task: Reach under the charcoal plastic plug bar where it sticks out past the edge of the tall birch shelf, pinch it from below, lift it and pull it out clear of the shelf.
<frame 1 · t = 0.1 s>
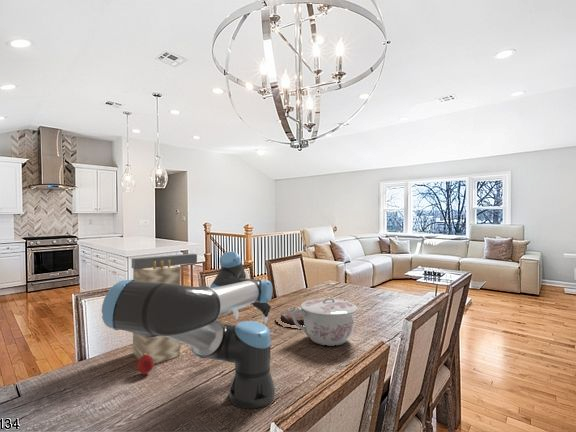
hand: (251, 318, 138), 15 cm above the table, tool tilted 35°, fingers open, 13 cm apart
chocolate cake: (299, 321, 183), on the table
plug bar: (165, 265, 140), point 38 cm above the table, touching shelf stand
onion: (145, 374, 120), on the table
chamber pot: (328, 340, 154), on the table
shelf stand: (155, 354, 137), on the table
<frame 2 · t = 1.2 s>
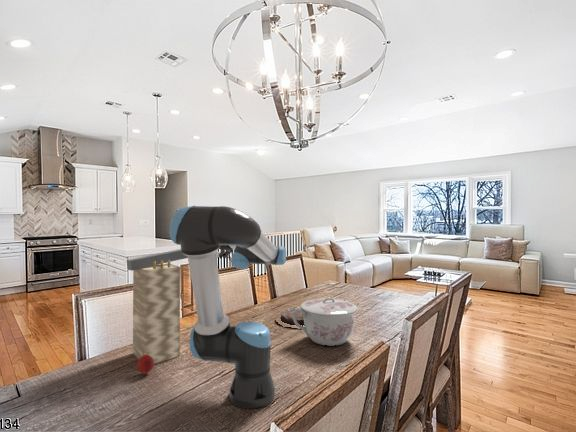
hand: (199, 251, 155), 42 cm above the table, tool tilted 75°, fingers open, 13 cm apart
plug bar: (161, 262, 139), point 39 cm above the table, tilted 6°
everything else where it was.
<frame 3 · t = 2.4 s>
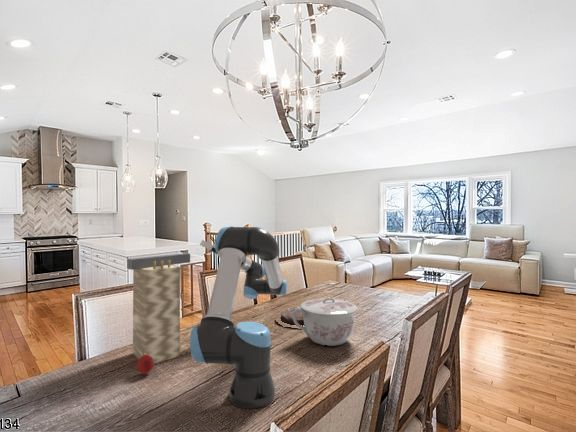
hand: (207, 243, 152), 47 cm above the table, tool pointing upward, fingers open, 13 cm apart
plug bar: (160, 265, 140), point 38 cm above the table, touching shelf stand
everything else where it was.
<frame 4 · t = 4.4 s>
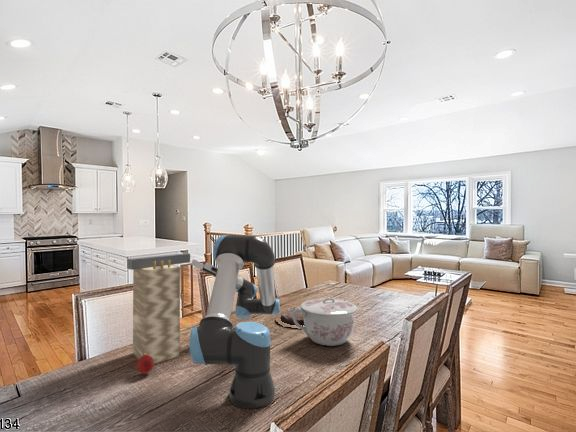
hand: (198, 263, 150), 37 cm above the table, tool pointing upward, fingers open, 13 cm apart
nothing on the table moved.
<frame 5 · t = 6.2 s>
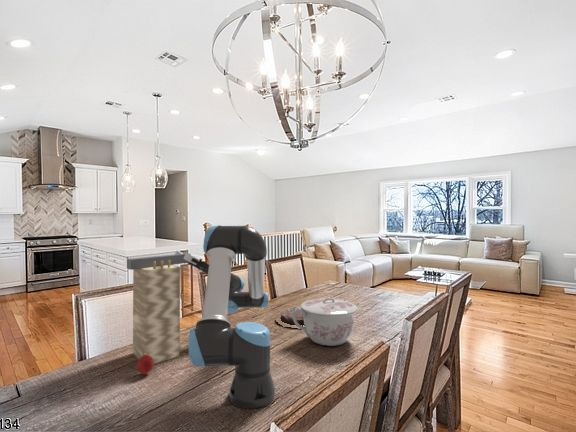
hand: (180, 254, 144), 42 cm above the table, tool pointing upward, fingers open, 10 cm apart
plug bar: (160, 265, 139), point 38 cm above the table, touching gripper, shelf stand
everything else where it was.
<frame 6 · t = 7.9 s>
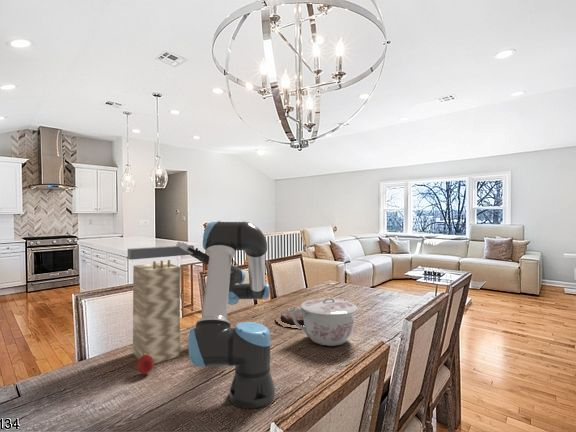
hand: (179, 244, 143), 47 cm above the table, tool pointing upward, fingers closed on plug bar, 4 cm apart
plug bar: (162, 256, 138), point 42 cm above the table, touching gripper
everything else where it was.
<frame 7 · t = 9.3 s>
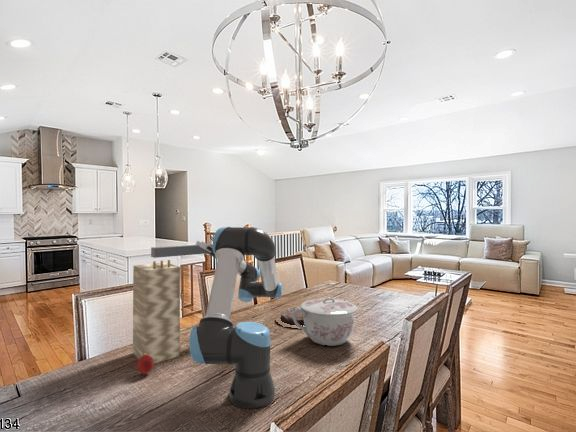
hand: (198, 243, 150), 47 cm above the table, tool pointing upward, fingers closed on plug bar, 4 cm apart
plug bar: (183, 254, 145), point 42 cm above the table, touching gripper
everything else where it was.
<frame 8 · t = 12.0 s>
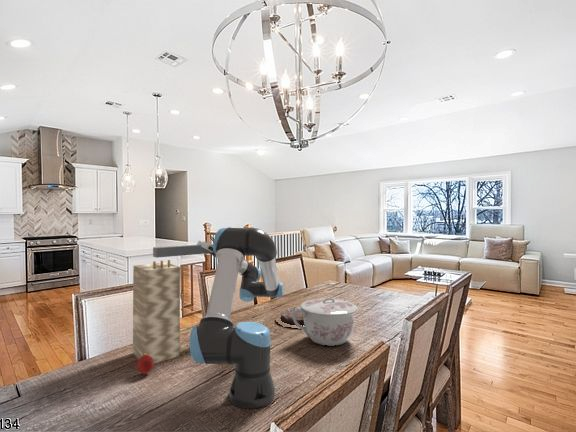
hand: (200, 243, 150), 47 cm above the table, tool pointing upward, fingers closed on plug bar, 4 cm apart
plug bar: (185, 254, 145), point 42 cm above the table, touching gripper
everything else where it was.
at the end: the gripper is holding plug bar; plug bar moved 9.5 cm from its start; plug bar inside the target area (2.0 cm from its centre), point 42.0 cm above the table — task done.
